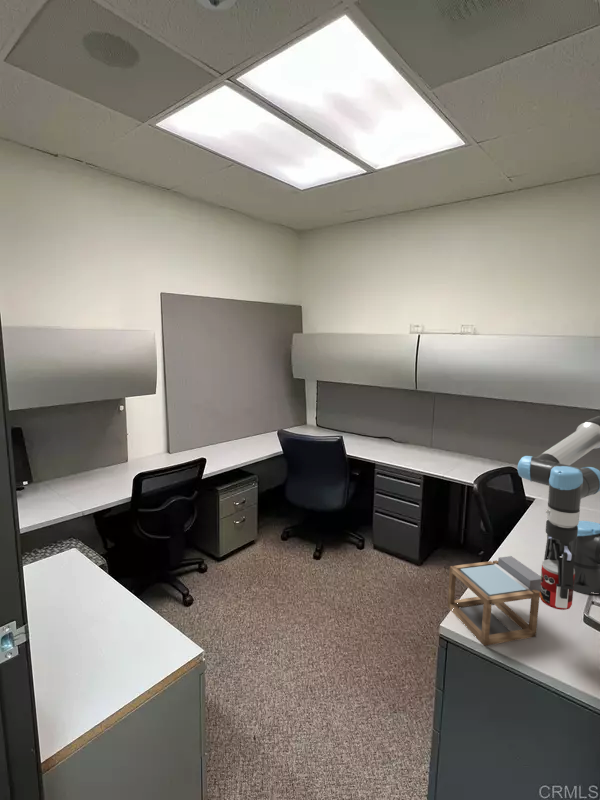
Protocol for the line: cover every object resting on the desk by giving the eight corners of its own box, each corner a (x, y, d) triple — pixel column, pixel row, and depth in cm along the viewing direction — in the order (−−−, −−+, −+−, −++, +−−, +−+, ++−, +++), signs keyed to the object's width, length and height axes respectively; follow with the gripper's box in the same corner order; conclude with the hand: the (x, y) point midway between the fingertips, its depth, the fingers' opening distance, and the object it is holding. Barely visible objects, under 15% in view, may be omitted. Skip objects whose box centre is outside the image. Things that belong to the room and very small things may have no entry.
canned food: (538, 591, 125) (540, 556, 123) (569, 597, 122) (572, 562, 120) (540, 606, 118) (543, 569, 117) (574, 613, 115) (577, 576, 113)
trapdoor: (509, 572, 143) (510, 555, 142) (543, 597, 128) (544, 579, 128) (459, 578, 138) (460, 561, 137) (488, 605, 124) (490, 586, 123)
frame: (493, 599, 145) (496, 560, 143) (535, 636, 127) (539, 592, 125) (447, 606, 141) (449, 566, 139) (483, 645, 123) (487, 600, 121)
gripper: (535, 506, 127) (530, 576, 130) (560, 538, 107) (553, 619, 111) (563, 509, 125) (557, 579, 129) (593, 541, 106) (585, 623, 109)
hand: (555, 597), depth 120 cm, fingers closed on canned food, 8 cm apart
